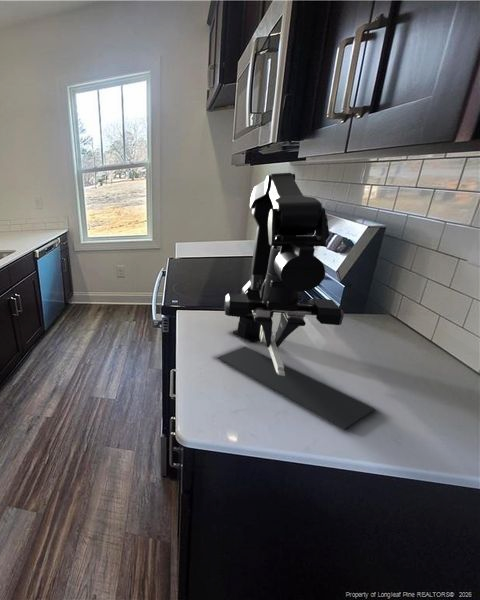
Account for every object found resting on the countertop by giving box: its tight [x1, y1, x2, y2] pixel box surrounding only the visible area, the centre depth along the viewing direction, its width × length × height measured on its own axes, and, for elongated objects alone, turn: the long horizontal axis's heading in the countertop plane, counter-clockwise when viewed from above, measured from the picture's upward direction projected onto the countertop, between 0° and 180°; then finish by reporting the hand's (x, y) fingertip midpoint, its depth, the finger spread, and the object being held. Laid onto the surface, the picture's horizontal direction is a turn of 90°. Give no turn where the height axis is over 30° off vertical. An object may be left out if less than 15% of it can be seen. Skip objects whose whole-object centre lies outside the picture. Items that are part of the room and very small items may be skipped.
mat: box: [217, 346, 376, 431], centre depth 70 cm, size 10×28×1 cm, turn 26°
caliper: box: [259, 325, 285, 376], centre depth 63 cm, size 20×1×6 cm, turn 160°
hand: (271, 346), depth 64 cm, fingers closed on caliper, 1 cm apart
